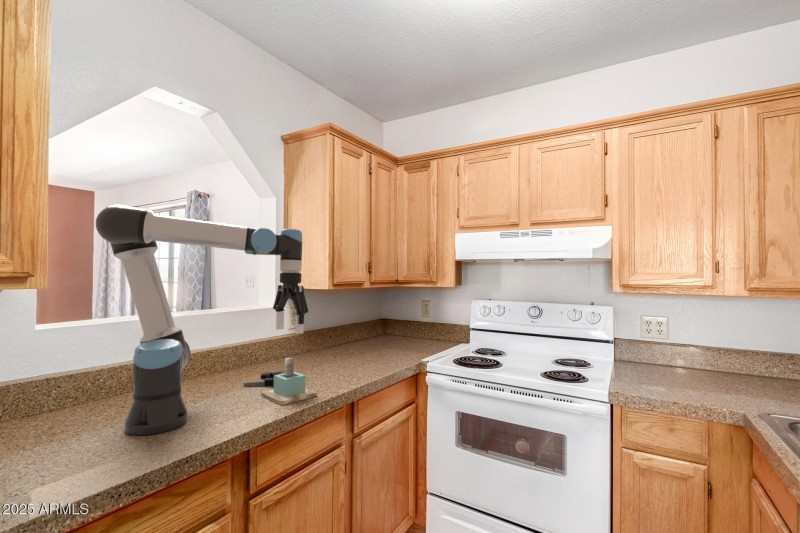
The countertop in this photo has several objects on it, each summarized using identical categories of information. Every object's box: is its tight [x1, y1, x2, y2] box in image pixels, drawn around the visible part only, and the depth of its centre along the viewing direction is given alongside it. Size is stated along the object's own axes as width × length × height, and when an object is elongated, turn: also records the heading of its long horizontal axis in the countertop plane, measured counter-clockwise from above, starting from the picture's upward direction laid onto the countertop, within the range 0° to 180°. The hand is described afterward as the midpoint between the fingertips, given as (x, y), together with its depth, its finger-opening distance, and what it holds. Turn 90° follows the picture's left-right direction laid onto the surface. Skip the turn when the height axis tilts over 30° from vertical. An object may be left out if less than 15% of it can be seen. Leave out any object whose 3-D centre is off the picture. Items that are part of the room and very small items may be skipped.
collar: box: [273, 371, 306, 397], centre depth 134 cm, size 8×8×6 cm
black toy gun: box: [243, 369, 285, 388], centre depth 150 cm, size 3×20×16 cm
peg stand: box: [260, 357, 318, 406], centre depth 134 cm, size 14×14×13 cm
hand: (289, 331), depth 135 cm, fingers open, 13 cm apart
